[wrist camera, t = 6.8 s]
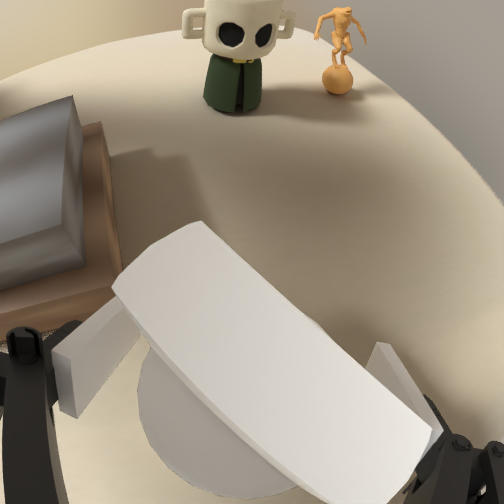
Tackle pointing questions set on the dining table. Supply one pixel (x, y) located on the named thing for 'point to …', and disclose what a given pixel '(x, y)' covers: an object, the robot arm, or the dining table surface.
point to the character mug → (237, 47)
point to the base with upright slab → (256, 384)
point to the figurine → (338, 75)
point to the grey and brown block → (55, 219)
